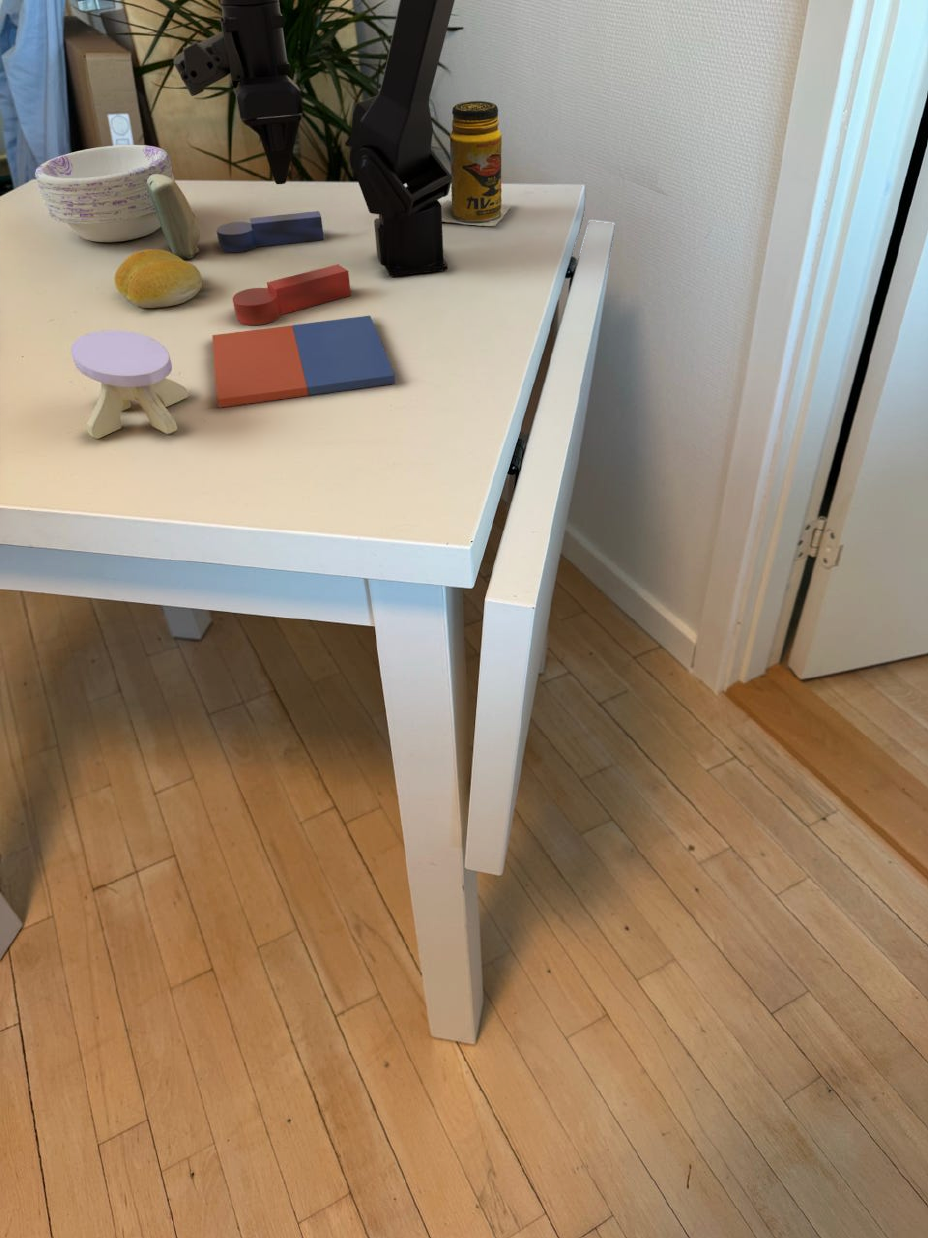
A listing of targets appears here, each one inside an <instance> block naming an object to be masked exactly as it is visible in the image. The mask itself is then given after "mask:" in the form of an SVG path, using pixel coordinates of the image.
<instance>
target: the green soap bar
mask: <svg viewBox="0 0 928 1238" xmlns="http://www.w3.org/2000/svg"><path fill="white" fill-rule="evenodd" d="M147 189H148V192H149V195H150V197H151V200H152V202H153V205H154V208H155V211H156V214H157V216H158V219H159V222H160V225H161V227H160V228H161V231H162V233H163V236H164V238H165V241H166V243H167V246H168V249H169V252H170V253H172V254H174V255H176V256H178V257H180V258H181V259H182V260H184V261H185V260H190V259H193V258H194V257H195V255H196V254H198V253H199V252H200V248H199V247H198V244H199V242H200V239H201V234H202V233H201V225H200V222H199V220H198V219H197V217H196V216H195V214H194V211H193V209H192V207H191V204H190V203H189V201H188V199H187V198H186V196H185V194H184V193H183V190H182V189H181V188H180V187H179V185H178V184H177V182H176V180H175V181H174V180H173V179H171V178H170V177H167V176H164V175H160V174H154V175H151V176H150V177H149V178H148V180H147Z"/></svg>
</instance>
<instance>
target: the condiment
mask: <svg viewBox="0 0 928 1238" xmlns="http://www.w3.org/2000/svg"><path fill="white" fill-rule="evenodd" d="M451 114H452V122H451V128H452V130H451V132H450V135H449V151H450V152H449V157H450V174H451V176H452V182H451V185H450V188H451V191H450V192H451V200H446V201H445V202H444V204H443V205H442V206H441V210H442V222H445V223H453V224H460V225H469V226H470V225H472V226H479V227H480V226H481V227H483V226H485V227H494V226H497V224H499V222H500V221H501V220H502V219H503V218H504V217H505V215H506V214H507V213H508V211H509V209H510V208H512V206H511V205H502V201H503V200H502V192H503V191H502V146H503V145H502V140H503V139H502V133H501V131H500V130H499V128H498V127H499V125H500V123H499V108H498V105H496V103H494V102H490V101H483V100H471V101H463V102H460V103H457V104H455V105H454V106H453V107H452V111H451Z"/></svg>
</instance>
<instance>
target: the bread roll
mask: <svg viewBox="0 0 928 1238" xmlns="http://www.w3.org/2000/svg"><path fill="white" fill-rule="evenodd" d="M114 285H115V288H116V290H117V291H118V292H119V294H120V295H122V296H123V298H125V299H127V300H128V301H130V302H131V303H132V304H133V305H135V306H136V307H139V308H142V309H155V308H157V309H158V308H169V307H173V306H179V305H180V304H184V303H186V302H188V301H191V299H193V298H194V297H195V296H197V294H198V293H199V292H200V290H201V289H202V288H203V280H202V274H201V271H200V270H199V268H198V267H197V266H196V265H194V264H193V263H192V262H188V261H185V259H184V260H182V259H181V258H180V257H178V256H176V255H174V254H172V252H171V251H168V250H165V249H154V248H148V249H143V250H139V251H136V252H133V253H132V254H130V255H129V256H128V257H126V258H125V259H124V260H123V262H122V263H121V264H120V265H119V267H118V268H117V269H116V272H115V274H114Z"/></svg>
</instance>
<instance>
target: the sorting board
mask: <svg viewBox="0 0 928 1238" xmlns="http://www.w3.org/2000/svg"><path fill="white" fill-rule="evenodd" d="M211 336H212V337H211V338H212V339H211V340H212V351H213V353H212V354H213V364H214V366H213V367H214V378H215V379H214V381H215V392H216V402H217V406H218V408H219V409H220V408H227V407H233V406H240V405H249V404H257V403H263V402H271V401H277V400H284V399H291V398H292V399H293V398H299V397H300V398H301V397H306V396H315V395H321V394H329V393H336V392H343V391H350V390H351V391H352V390H358V389H365V388H372V387H380V386H385V385H386V386H387V385H394V384H396V377H395V373H394V370H393V368H392V366H391V363H390V361H389V358H388V356H387V353H386V351H385V349H384V346H383V343H382V341H381V339H380V337H379V334H378V331H377V329H376V327H375V324H374V321H373V319H372V317H371V315H363V316H355V317H348V318H347V317H346V318H339V319H338V318H337V319H331V320H323V321H315V322H314V321H313V322H307V323H299V324H291V325H284V326H275V327H268V328H266V327H265V328H259V329H251V330H243V331H235V332H227V333H219V334H213V335H211Z"/></svg>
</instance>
